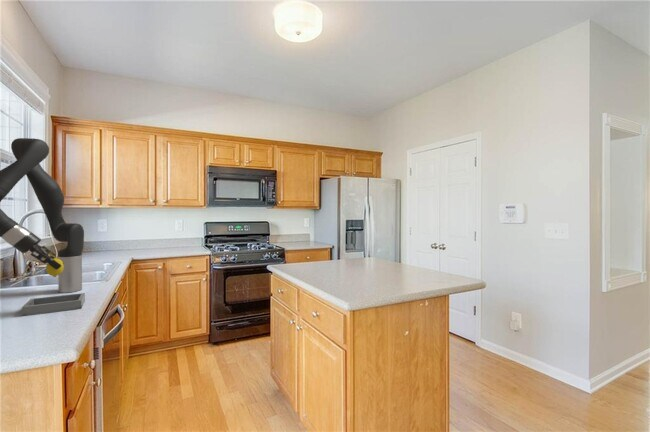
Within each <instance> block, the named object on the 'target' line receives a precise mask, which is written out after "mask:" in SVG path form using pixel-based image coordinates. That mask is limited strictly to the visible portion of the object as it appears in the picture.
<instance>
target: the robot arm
mask: <svg viewBox="0 0 650 432" xmlns="http://www.w3.org/2000/svg"><path fill="white" fill-rule="evenodd" d="M10 144H11V146H10V148H11V152H12V154H13V156H14V158H15V161H14V162H13V163H10V164H9V165H8V166H5V167H4V168H2V169H1V170H0V203H1V202H2V201H3V200H4V199H5V198H6V196H7V195H9V193H10V192H11V190H13V189H14V187H15V186H16V185H17V184H19V183H18V182H20V181H21V179H23V178H24V177H25V176H26V177H27V179H28V181H29V183H30V185H31V187H32V189H33V192H34V193H35V195H36V198H37V201H38V202H39V204H40V205H41V206H40V207H41V208H42V210H43V212H44V214H45V216H46V219H47V221H48V224H49V228H50V231H51V233H52V237H53V239H55V240H56V241H58V242H61V243H67V244H66V245H67V246H66V247H65V248H62V249H60V250H58V252H57V255H56V254H55V253H54V252H53V251H51V250H50V249H49V248H47V246H45V245H42V246H41V245H40V244H39V243H40V242H41V241H42V239H41V238H40V237H38V236H37V235H36V234H34V233H33V232H32V231H30V230H29V229H28V228H26V227H24V225H23V226H22V225H21V224H19V223H18V222H16V221H15V220H14V219H12V218H11V217H10V216H8V215H7V214H6V213H5V212H4V211H3V210H2V209H1V208H0V238H1V239H3V240H4V242H6V243H7V244H8V245H10V246H12V247H13V248H14V249H16V250H17V251H19V252H20V253H22V254H26V253H28V252H31V253H30V255H31V256H32V257H33V258H35V259H36V260H38V261H39V262H40V263H42V264H44V265H47V264H49V265H50V266H52V267H53V268H55V269H56V270H57V269H59V268H60V267H61V265H60V264H59V263H58V262H56V261H55V260H53V258H57V259H60V260H61V261H62V262H63V265H64V269H63V271H62V273H61V274H59V275H57V280H58V281H57V282H58V283H57V287H58V289H57V290H58V291H57V292H58V293H66V294H67V293H74V292H79V291H81V290H83V259H82V258H83V256H82V255H83V250H84V243H85V242H84V241H85V231H84V227H83V225H82V224H80V223H76V222H75V223H74V222H72V223H71V222H70V223H69V222H67V223H66V221H65V219H64V217H63V213H62V211H63V207H64V205H65V196H64V193H63V191H62V188H61V186H60V185H59V183H58V181H56V180H55V179H54V178H53V177H52V176H51V175H50V174H49V173H47V172H46V171H45V170H44V168H43V167H42V166H41V164H40V163H42V162H43V161H44V160H45V159H46V158H47V157H48V155H49V153H50V147H49V145H48V143H47V142H45V141H44V140H43V139H39V138H29V137H25V138H23V137H22V138H21V137H18V138H14V139H13V140H12V142H11V143H10Z"/></svg>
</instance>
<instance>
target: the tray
mask: <svg viewBox="0 0 650 432" xmlns="http://www.w3.org/2000/svg"><path fill="white" fill-rule="evenodd" d="M85 301H86V293H85V292H80V293H71V294H64V295H63V294H62V295H52V296H43V297H34V298H33V297H32V298H30V299H29V300H28V301H27V302H26V303H25V304H24V305H23V306H22V307H21V316H22V317H27V316H35V315H40V314H50V313H57V312H65V311H74V310H82V308H83V306H84V304H85Z"/></svg>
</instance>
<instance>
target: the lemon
mask: <svg viewBox="0 0 650 432" xmlns="http://www.w3.org/2000/svg"><path fill="white" fill-rule="evenodd" d="M57 258H58V257H56V258H53V260H55V261H56V262H58V263H59V264H60V265H61V267H60V268H59V269H57V270H56V269H55V268H53V267H52V266H50V265H49V264H45V271H46V273H47V274H48V275H49V276H51V277H53V278H57V277H58V275H59V274H61V273H62V271H63V269H64V265H63V262H62V261H61V260H60V259H57Z"/></svg>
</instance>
